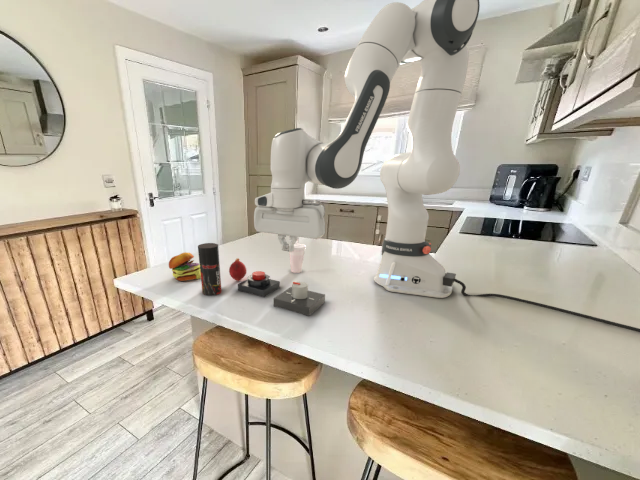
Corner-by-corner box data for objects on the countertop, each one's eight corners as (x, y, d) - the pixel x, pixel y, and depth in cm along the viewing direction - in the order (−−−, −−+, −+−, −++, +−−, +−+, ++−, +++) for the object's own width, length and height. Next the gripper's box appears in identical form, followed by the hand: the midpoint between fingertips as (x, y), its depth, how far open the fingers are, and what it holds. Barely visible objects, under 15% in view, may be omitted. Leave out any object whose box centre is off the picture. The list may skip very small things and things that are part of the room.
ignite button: (267, 277, 97) (267, 272, 96) (260, 281, 94) (260, 276, 93) (257, 275, 99) (257, 270, 98) (249, 279, 96) (249, 274, 95)
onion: (244, 284, 101) (243, 261, 98) (227, 283, 102) (226, 260, 99) (248, 278, 107) (247, 256, 103) (232, 277, 108) (231, 255, 105)
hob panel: (324, 302, 88) (325, 293, 86) (309, 316, 80) (309, 307, 79) (291, 294, 93) (291, 286, 92) (273, 306, 86) (273, 297, 85)
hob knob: (310, 295, 86) (311, 282, 85) (303, 300, 83) (303, 287, 81) (296, 291, 89) (296, 279, 87) (288, 297, 85) (289, 284, 84)
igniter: (279, 287, 98) (279, 276, 97) (264, 297, 92) (264, 285, 90) (254, 281, 104) (254, 270, 102) (237, 290, 97) (237, 278, 95)
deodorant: (218, 296, 93) (214, 248, 87) (199, 295, 94) (194, 248, 88) (223, 288, 98) (220, 243, 93) (205, 288, 99) (201, 242, 93)
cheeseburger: (193, 283, 102) (183, 255, 99) (168, 287, 107) (158, 260, 104) (208, 273, 111) (200, 247, 108) (185, 277, 116) (176, 251, 113)
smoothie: (307, 270, 113) (309, 232, 108) (300, 275, 108) (301, 236, 103) (292, 267, 116) (293, 230, 111) (284, 272, 111) (284, 234, 106)
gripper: (330, 199, 76) (327, 253, 81) (263, 196, 87) (264, 243, 93) (319, 202, 71) (317, 259, 77) (249, 198, 83) (251, 248, 88)
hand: (287, 250), depth 85 cm, fingers closed
